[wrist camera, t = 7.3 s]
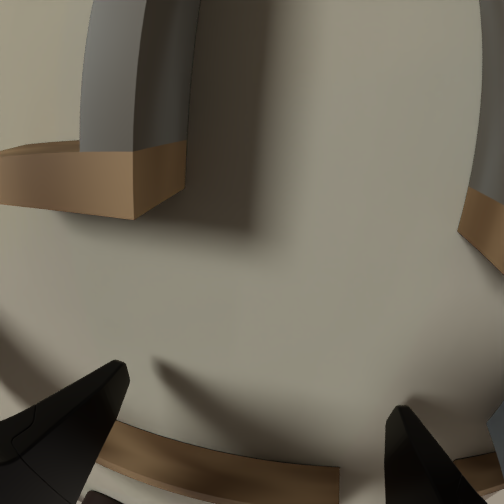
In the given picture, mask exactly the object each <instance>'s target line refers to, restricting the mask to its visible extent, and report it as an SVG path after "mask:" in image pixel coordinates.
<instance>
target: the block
mask: <svg viewBox="0 0 504 504" xmlns="http://www.w3.org/2000/svg"><path fill="white" fill-rule="evenodd" d="M486 424H487V427H488V430H489V432H490V435H491V438H492V441H493V444H494V447H495V450H496V454H497V457H498V460H499V463H500V467H501V470H502V474H503V478H504V401H503V402H502V404H501V405H500V406H499V408H498V409H497V410H496V412H495V413H494V414H493V415H492V417H491V418H490V419H489V420H488V422H487V423H486Z"/></svg>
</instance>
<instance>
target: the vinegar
mask: <svg viewBox="0 0 504 504" xmlns="http://www.w3.org/2000/svg"><path fill="white" fill-rule="evenodd" d="M82 504H122V503H120V502H118V501H116V500H114V499H112V498H110V497H108V496H106V495H103V494H101V493H98V492H96V491H92V490H91V491H89V492H87V494H86V496H85V498H84V500H83V502H82Z"/></svg>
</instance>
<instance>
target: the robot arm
mask: <svg viewBox="0 0 504 504" xmlns="http://www.w3.org/2000/svg"><path fill="white" fill-rule="evenodd" d="M129 383H130V377H129V374H128V370H127V366H126V364H125V363H124V362H122V361H119V360H112V361H111V362H109V363H107V364H105V365H104V366H102V367H100V368H98V369H97V370H95V371H93V372H92V373H90V374H88V375H86V376H85V377H83V378H81V379H79V380H78V381H76V382H74V383H72V384H71V385H69V386H67V387H65V388H64V389H62V390H60V391H58V392H57V393H55V394H53V395H51V396H49V397H48V398H46V399H44V400H42V401H40V402H39V403H37V404H36V405H33V406H31V407H30V408H28V409H26V410H24V411H22V412H20V413H18V414H16V415H14V416H11V417H9V418H7V419H5V420H2V421H0V504H76V502H77V500H78V498H79V496H80V494H81V491H82V489H83V487H84V485H85V483H86V481H87V479H88V476H89V474H90V472H91V470H92V468H93V466H94V464H95V462H96V460H97V458H98V456H99V453H100V451H101V449H102V447H103V445H104V443H105V441H106V439H107V437H108V435H109V433H110V431H111V429H112V427H113V425H114V423H115V421H116V419H117V416H118V413H119V411H120V408H121V405H122V402H123V400H124V397H125V394H126V391H127V389H128V386H129ZM384 471H385V493H386V504H487V502H486V501H485V500H484V499H483V498H482V497H481V496H480V495H479V494H478V493H477V492H476V491H475V489H474V488H473V487H472V486H471V485H470V483H469V482H468V481H467V480H466V478H465V477H464V476H463V475H462V473H461V472H460V471H459V469H458V468H457V467H456V465H455V464H454V463H453V462H452V460H451V459H450V458H449V456H448V455H447V454H446V453H445V451H444V450H443V449H442V447H441V446H440V445H439V444H438V442H437V441H436V440H435V439H434V437H433V436H432V435H431V434H430V432H429V431H428V430H427V429H426V427H425V426H424V425H423V424H422V422H421V421H420V420H419V419H418V417H417V416H416V415H415V414H414V412H413V411H412V410H411V409H410V407H408V406H406V405H398V406H396V407H395V408H394V410H393V411H392V413H391V414H390V416H389V417H388V419H387V421H386V426H385V455H384Z"/></svg>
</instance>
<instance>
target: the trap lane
mask: <svg viewBox="0 0 504 504" xmlns="http://www.w3.org/2000/svg"><path fill="white" fill-rule="evenodd" d="M479 2H480V12H481V25H482V48H483V69H482V93H481V107H480V117H479V126H478V134H477V142H476V148H475V155H474V161H473V166H472V172H471V177H470V182H469V186H468V191H467V195H466V200H465V204H464V208H463V212H462V216H461V219H460V223H459V227H458V230H457V231H458V232H459V233H460V234H461V235H462V236H463V237H465V238H466V239H467V240H468V241H469V242H470V243H471V244H472V245H473V246H474V247H476V248H477V249H478V250H479V251H480V252H481V253H482V254H483V255H484V256H485V257H486V258H487V259H488V260H489V261H490V262H491V263H492V264H493V265H494V266H495V267H496V268H497V269H498V270H499V271H500V272H501V273H502V274H503V275H504V0H479ZM199 6H200V0H93V5H92V10H91V15H90V20H89V26H88V33H87V39H86V46H85V54H84V63H83V73H82V86H81V102H80V140H77V141H61V142H48V143H38V144H28V145H23V146H18V147H14V148H10V149H7V150H3V151H0V204H3V205H12V206H21V207H30V208H39V209H48V210H56V211H65V212H73V213H82V214H90V215H98V216H106V217H114V218H122V219H130V220H135V219H136V218H138V217H139V216H141V215H143V214H144V213H146V212H147V211H149V210H150V209H152V208H154V207H155V206H157V205H158V204H160V203H162V202H163V201H165V200H166V199H168V198H170V197H171V196H173V195H175V194H176V193H178V192H179V191H181V190H183V189H184V188H185V170H186V147H187V128H188V113H189V99H190V86H191V75H192V65H193V55H194V46H195V37H196V29H197V21H198V13H199ZM96 463H98V464H100V465H102V466H104V467H107V468H109V469H111V470H113V471H116V472H118V473H121V474H123V475H125V476H128V477H130V478H133V479H136V480H138V481H141V482H144V483H146V484H149V485H152V486H155V487H158V488H161V489H164V490H167V491H170V492H174V493H177V494H180V495H184V496H187V497H191V498H195V499H199V500H203V501H207V502H211V503H216V504H339V475H340V467H326V466H311V465H300V464H290V463H281V462H274V461H267V460H260V459H254V458H248V457H242V456H237V455H232V454H227V453H222V452H218V451H213V450H209V449H205V448H201V447H197V446H193V445H189V444H186V443H182V442H178V441H175V440H172V439H168V438H165V437H162V436H159V435H155V434H152V433H149V432H146V431H143V430H141V429H138V428H135V427H132V426H129V425H127V424H124V423H121V422H119V421H115V423H114V425H113V427H112V429H111V431H110V433H109V435H108V437H107V439H106V441H105V443H104V445H103V447H102V449H101V451H100V453H99V456H98V458H97V460H96ZM453 463H454V464H455V465H456V467H457V468H458V469H459V471H460V472H461V473H462V475H463V476H464V477H465V478H466V480H467V481H468V482H469V483H470V485H471V486H472V487H473V488H474V489H475V491H476V492H477V493H478V494H479V495H480V496H483V495H486V494H490V493H493V492H496V491H499V490H501V489H504V478H503V474H502V470H501V467H500V463H499V460H498V457H497V454H496V452H493V453H489V454H485V455H480V456H475V457H470V458H465V459H459V460H455V461H454V462H453Z"/></svg>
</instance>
